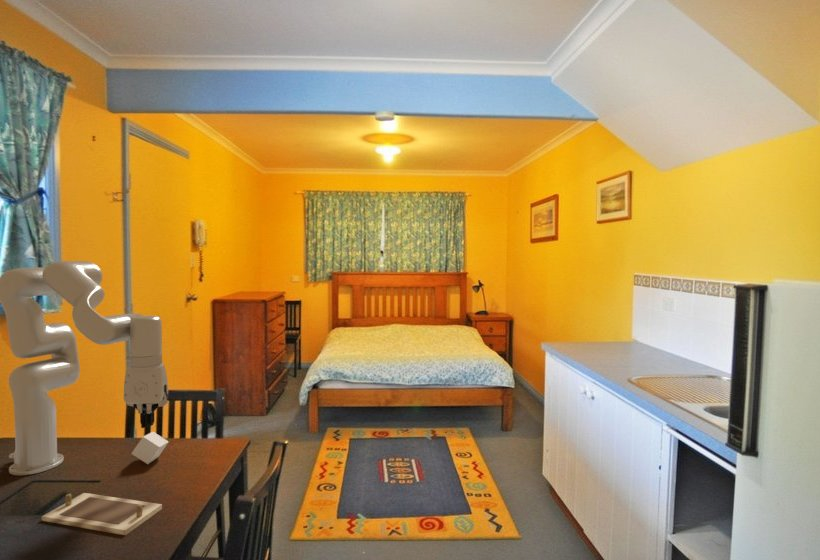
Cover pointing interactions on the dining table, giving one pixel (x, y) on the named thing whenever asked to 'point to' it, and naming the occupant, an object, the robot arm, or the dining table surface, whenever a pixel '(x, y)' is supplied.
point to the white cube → (150, 447)
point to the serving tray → (102, 513)
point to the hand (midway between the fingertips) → (147, 426)
